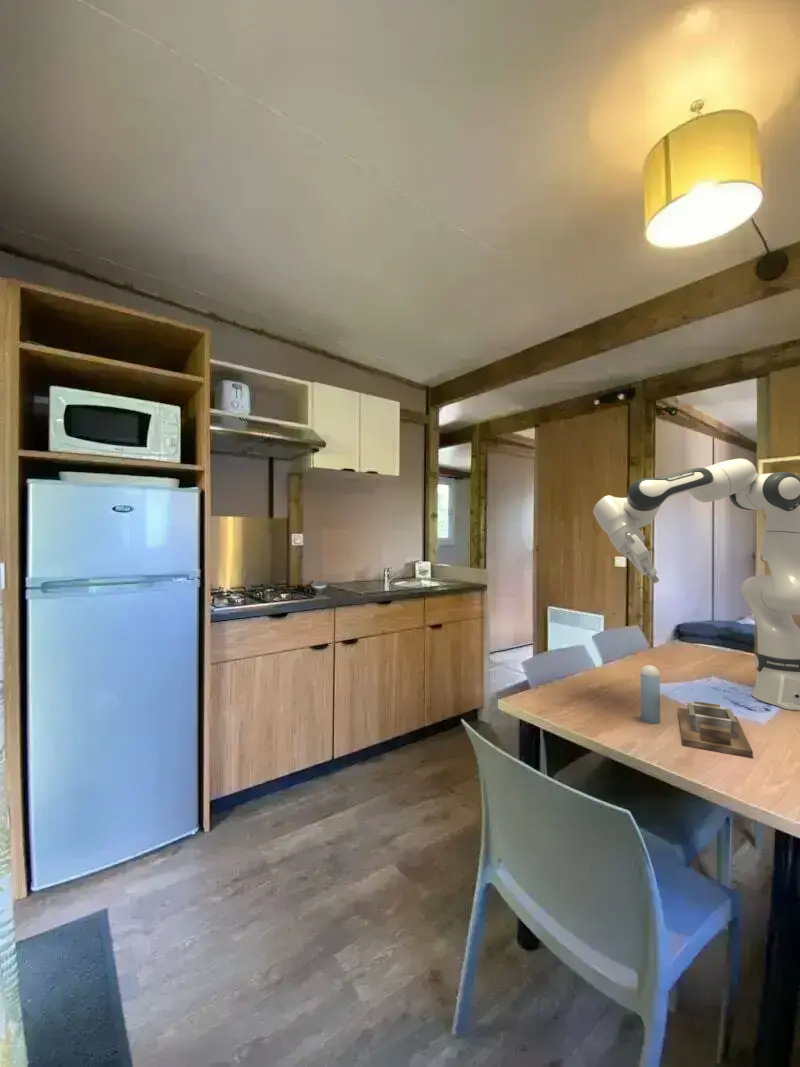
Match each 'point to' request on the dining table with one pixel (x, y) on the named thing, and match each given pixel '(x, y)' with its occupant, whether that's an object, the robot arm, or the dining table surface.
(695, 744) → the cradle
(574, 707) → the dining table surface
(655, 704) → the dome-topped blue cylinder
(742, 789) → the dining table surface
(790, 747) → the dining table surface
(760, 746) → the dining table surface
